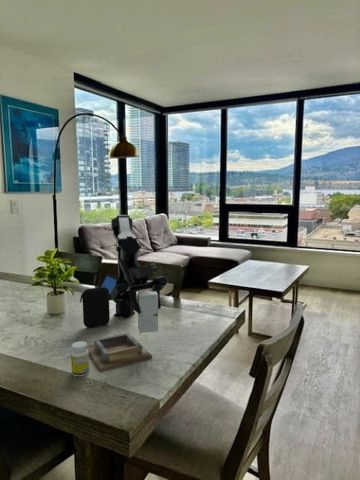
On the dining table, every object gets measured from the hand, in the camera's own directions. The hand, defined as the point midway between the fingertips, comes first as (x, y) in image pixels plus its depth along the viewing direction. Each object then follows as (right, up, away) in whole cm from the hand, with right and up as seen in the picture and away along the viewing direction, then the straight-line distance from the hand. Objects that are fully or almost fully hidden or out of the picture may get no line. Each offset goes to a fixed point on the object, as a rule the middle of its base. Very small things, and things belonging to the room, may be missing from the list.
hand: (150, 310), depth 111 cm
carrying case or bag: (-22, -10, +22) cm, 33 cm away
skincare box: (-1, -7, +2) cm, 7 cm away
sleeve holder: (-10, -13, 0) cm, 17 cm away
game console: (-28, -5, +59) cm, 66 cm away
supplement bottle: (-18, -15, -11) cm, 26 cm away
